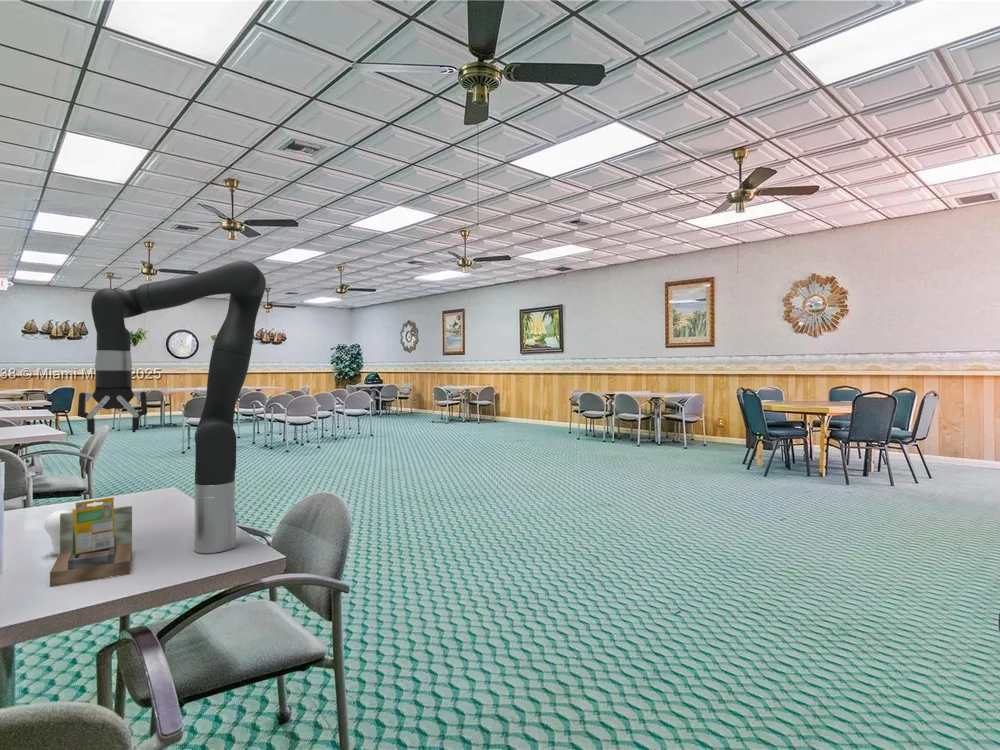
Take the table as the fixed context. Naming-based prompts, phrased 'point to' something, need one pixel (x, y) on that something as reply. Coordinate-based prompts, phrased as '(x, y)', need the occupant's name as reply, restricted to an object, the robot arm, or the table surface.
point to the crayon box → (93, 526)
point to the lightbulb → (54, 529)
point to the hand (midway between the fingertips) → (113, 433)
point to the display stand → (93, 552)
